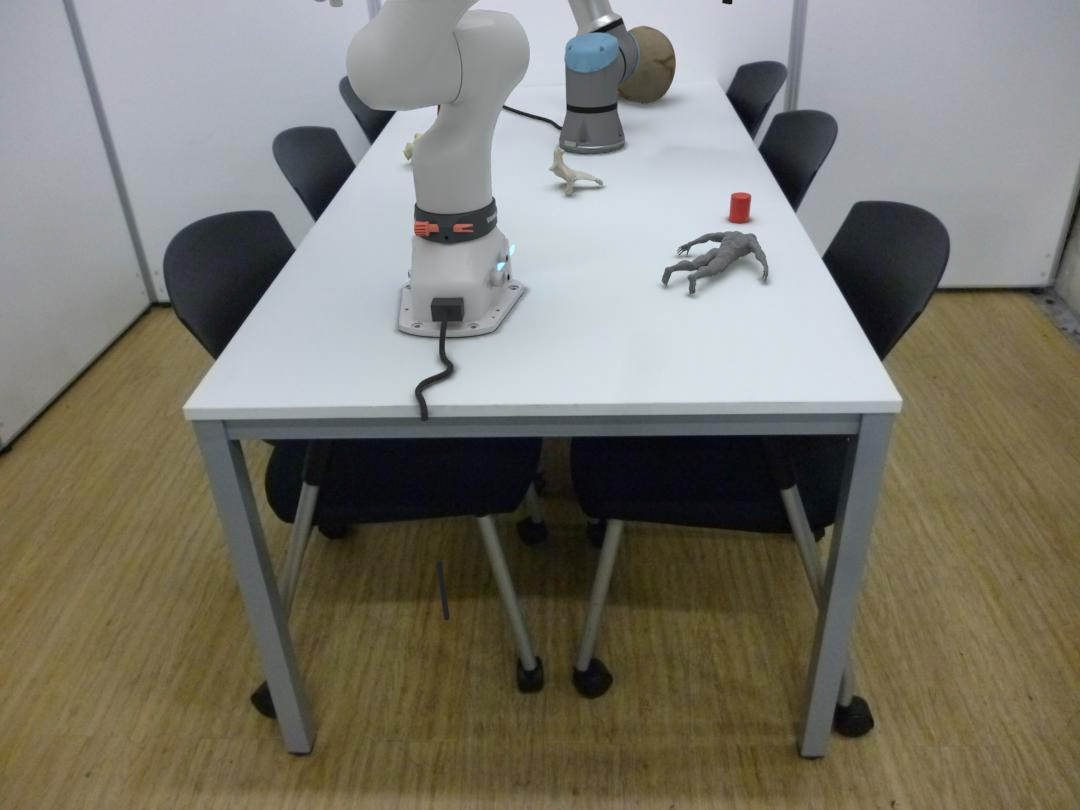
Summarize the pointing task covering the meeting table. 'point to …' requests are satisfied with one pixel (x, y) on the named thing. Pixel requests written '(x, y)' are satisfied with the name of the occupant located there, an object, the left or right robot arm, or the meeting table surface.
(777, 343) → the meeting table surface
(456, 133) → the left robot arm
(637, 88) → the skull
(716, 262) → the figurine
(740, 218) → the tin
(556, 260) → the meeting table surface
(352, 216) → the meeting table surface
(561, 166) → the bone
